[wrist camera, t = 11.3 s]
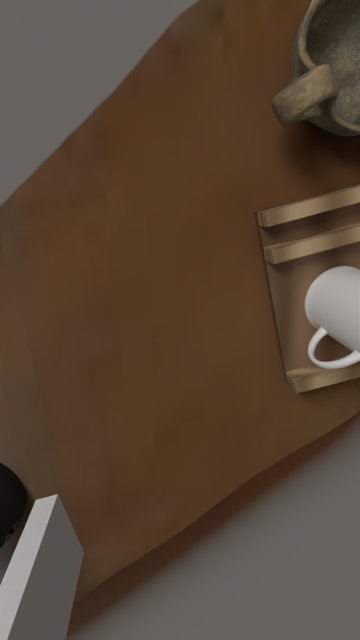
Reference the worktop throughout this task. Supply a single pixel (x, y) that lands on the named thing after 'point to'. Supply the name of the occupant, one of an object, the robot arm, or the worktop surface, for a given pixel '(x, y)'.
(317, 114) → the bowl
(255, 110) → the worktop surface
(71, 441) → the worktop surface
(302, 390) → the rack
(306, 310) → the mug
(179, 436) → the worktop surface
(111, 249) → the worktop surface
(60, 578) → the robot arm
